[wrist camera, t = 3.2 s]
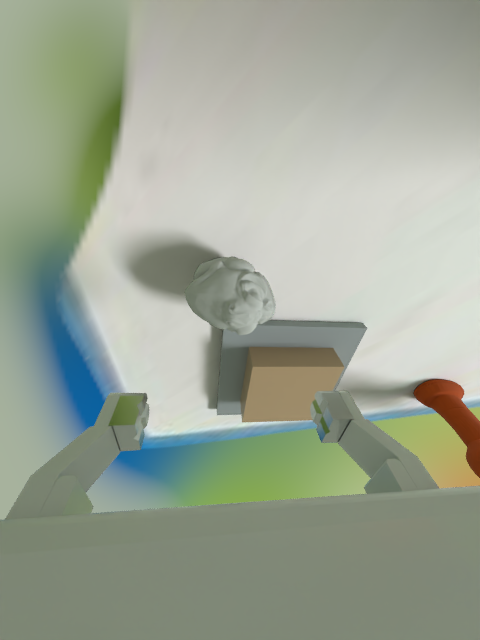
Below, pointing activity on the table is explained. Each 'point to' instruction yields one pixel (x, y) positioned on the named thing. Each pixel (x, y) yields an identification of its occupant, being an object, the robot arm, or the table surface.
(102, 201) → the table surface
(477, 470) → the toy drill
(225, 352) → the baseplate
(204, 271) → the grey lumpy sculpture
